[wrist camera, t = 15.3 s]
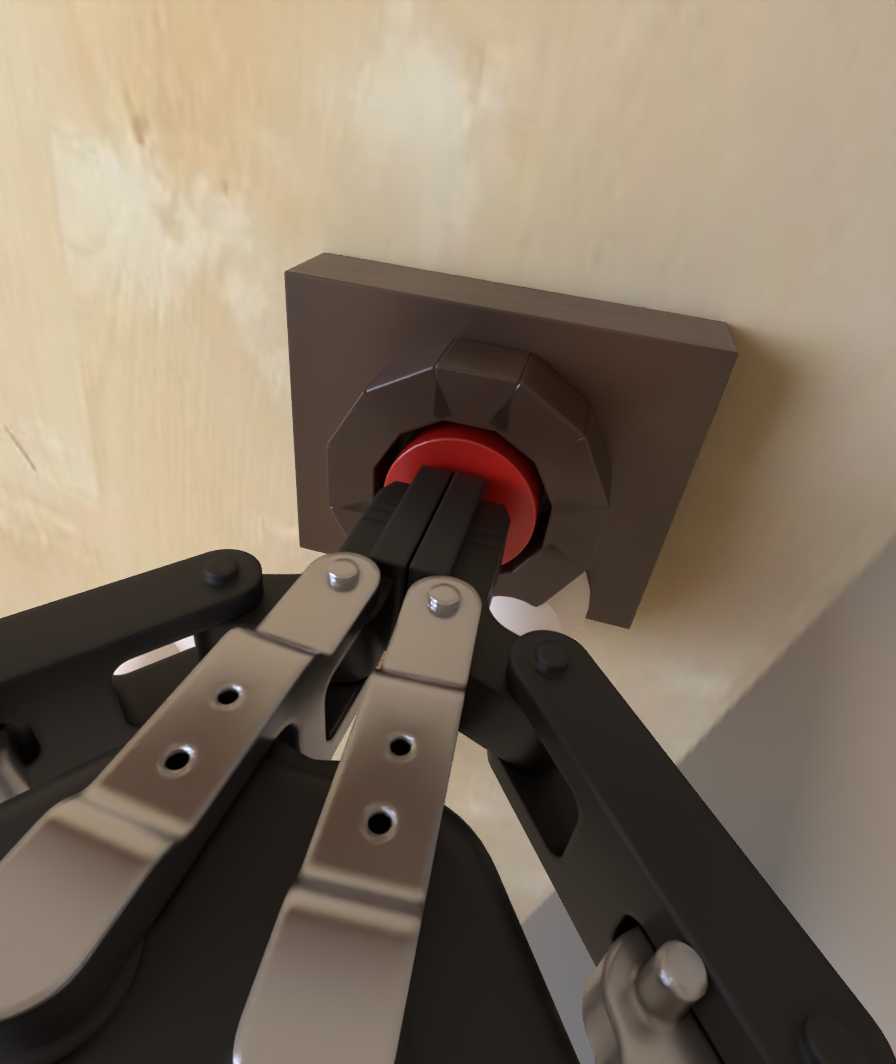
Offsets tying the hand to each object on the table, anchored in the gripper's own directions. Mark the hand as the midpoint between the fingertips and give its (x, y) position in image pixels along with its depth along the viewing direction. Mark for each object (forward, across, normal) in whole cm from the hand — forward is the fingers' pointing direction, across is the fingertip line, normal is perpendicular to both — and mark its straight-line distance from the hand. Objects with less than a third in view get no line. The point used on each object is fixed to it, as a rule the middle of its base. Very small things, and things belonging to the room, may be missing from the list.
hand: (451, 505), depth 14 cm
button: (+2, 0, 0) cm, 2 cm away
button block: (+4, 0, 0) cm, 4 cm away
